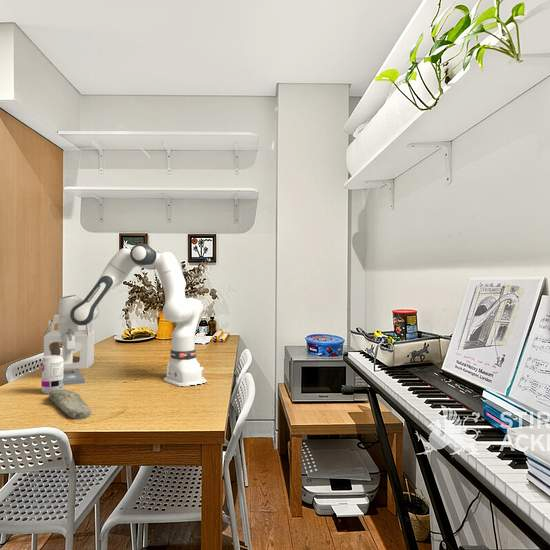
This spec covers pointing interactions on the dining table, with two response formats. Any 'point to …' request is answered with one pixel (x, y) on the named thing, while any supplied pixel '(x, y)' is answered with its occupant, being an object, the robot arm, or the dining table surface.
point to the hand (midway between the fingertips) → (67, 356)
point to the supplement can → (52, 373)
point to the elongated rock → (70, 403)
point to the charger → (67, 360)
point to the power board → (72, 377)
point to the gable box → (81, 336)
